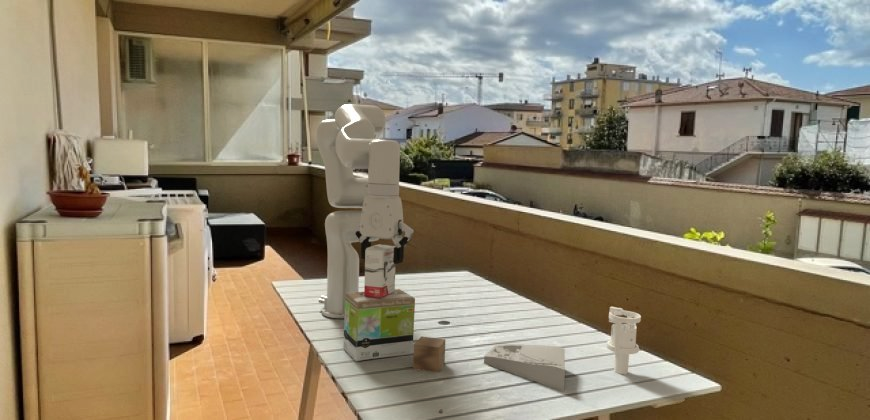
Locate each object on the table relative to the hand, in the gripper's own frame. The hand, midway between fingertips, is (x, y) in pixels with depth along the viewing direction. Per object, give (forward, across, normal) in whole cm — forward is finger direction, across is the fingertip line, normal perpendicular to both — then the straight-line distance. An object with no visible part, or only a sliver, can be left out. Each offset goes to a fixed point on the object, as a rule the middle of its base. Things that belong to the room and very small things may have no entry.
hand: (381, 260), depth 137 cm
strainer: (+23, +54, +22) cm, 63 cm away
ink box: (+9, 0, 0) cm, 9 cm away
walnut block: (+23, +15, -1) cm, 28 cm away
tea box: (+23, 0, 0) cm, 23 cm away
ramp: (+24, +35, +11) cm, 43 cm away
